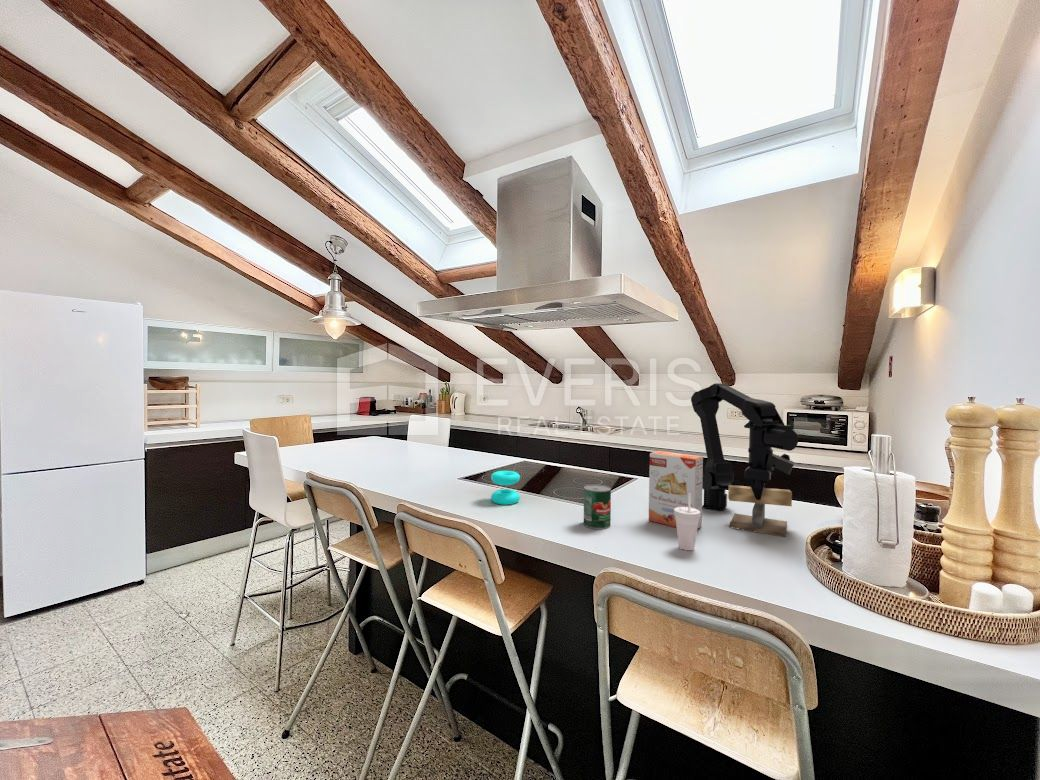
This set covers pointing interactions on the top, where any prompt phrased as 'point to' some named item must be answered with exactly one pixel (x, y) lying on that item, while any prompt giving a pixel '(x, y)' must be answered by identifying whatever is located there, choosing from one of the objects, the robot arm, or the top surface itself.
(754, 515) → the stand
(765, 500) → the oak bar
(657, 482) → the cracker box
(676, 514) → the smoothie
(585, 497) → the canned tomato
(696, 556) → the top surface
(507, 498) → the donuts
